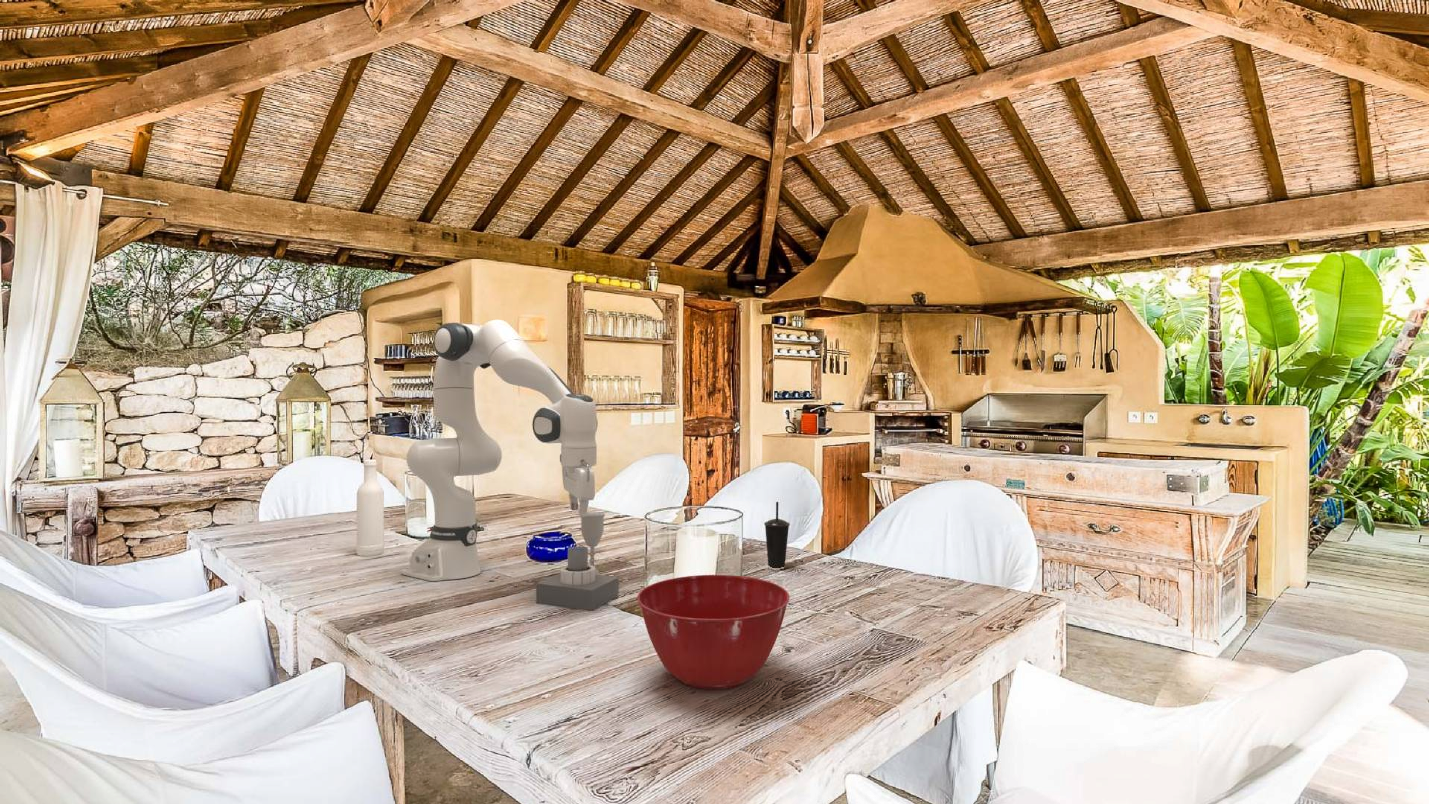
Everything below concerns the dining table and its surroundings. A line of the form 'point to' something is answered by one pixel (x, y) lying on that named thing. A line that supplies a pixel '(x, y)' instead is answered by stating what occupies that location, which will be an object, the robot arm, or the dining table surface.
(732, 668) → the mixing bowl
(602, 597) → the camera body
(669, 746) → the dining table surface
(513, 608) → the dining table surface
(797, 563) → the dining table surface
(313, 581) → the dining table surface
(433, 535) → the robot arm
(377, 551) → the bottle
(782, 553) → the drinking cup
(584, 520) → the chalice
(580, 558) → the lens
